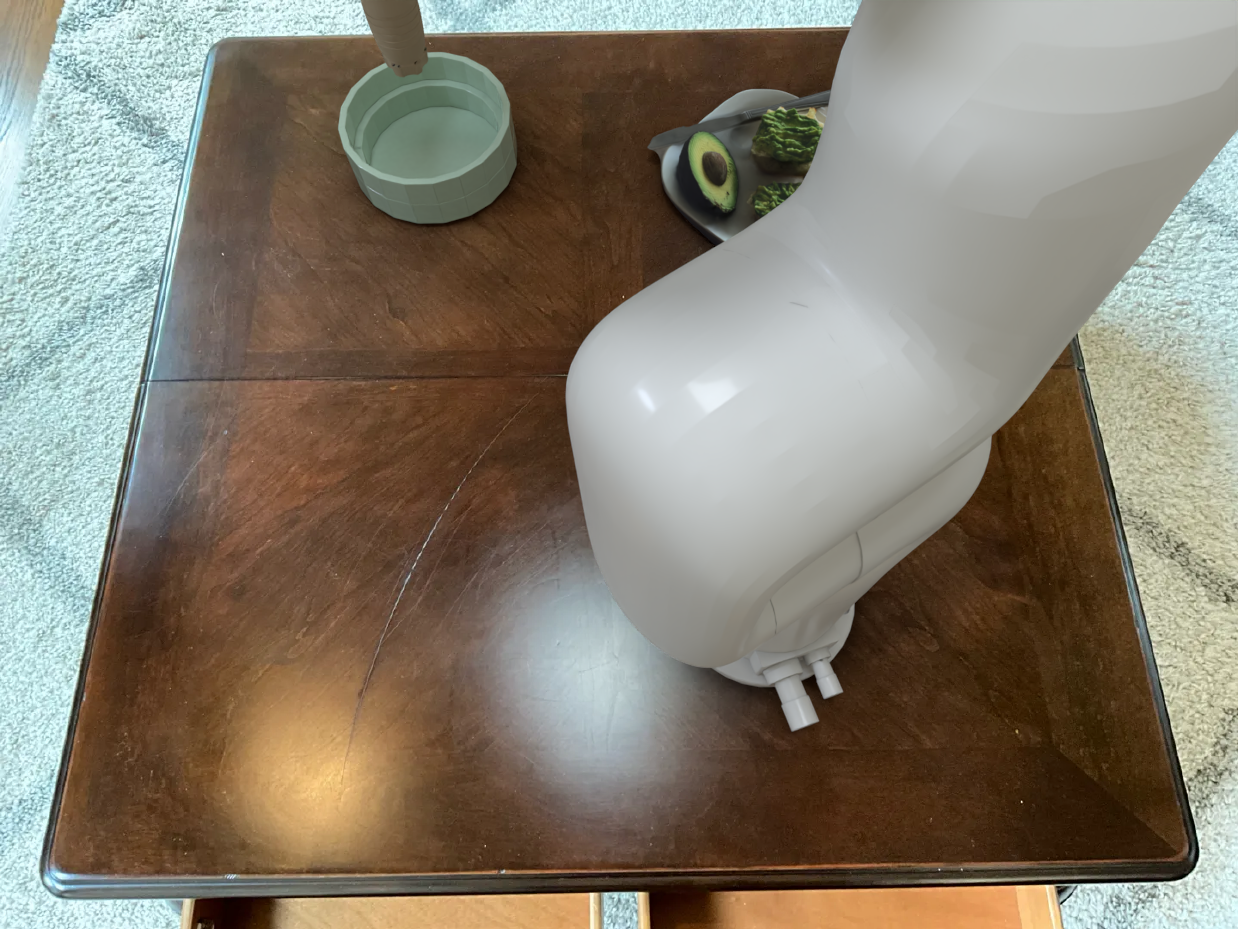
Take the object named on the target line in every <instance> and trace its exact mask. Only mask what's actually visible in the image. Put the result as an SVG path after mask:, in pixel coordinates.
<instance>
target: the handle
mask: <svg viewBox="0 0 1238 929" xmlns="http://www.w3.org/2000/svg"><path fill="white" fill-rule="evenodd" d="M360 4H361V6H362V10H363V13H364V16H365V19H366V21H367V24H368V27H369V29H370V32H371V34H372V36H373V39H374V41H375V43H376V45H377V47H378V49H379V51H380V53H381V56H382V59H383V61H384V63H386V65H387V66H388V67H389V68H392V69H393V71H394V73H395V75H397V76H399V77H405V76H408V75H419V74H420V73H421V72H422V71H423V70H422V68H423V66H424V65H425V64H427V62H428V53H427V52H428V48H427V46H426V36H425V28H424V22H423V16H422V12H421V7H420V3H419V0H360Z"/></svg>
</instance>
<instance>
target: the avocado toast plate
mask: <svg viewBox="0 0 1238 929" xmlns="http://www.w3.org/2000/svg"><path fill="white" fill-rule="evenodd" d="M830 94H831V89H827V90H824V91H819V92H817V93H813V94H809V95H806V96H801V97H798V96H796V95H794V94H791V93H788V92H786V91H783V90H778V89H770V88H751V89H746V90H742V91H740V92H737V93H736V94H734V95H733V96H731V97H730V98H727V99H726V100H725V101H723V102H722V103H720V104H719V105H718V106H717V107H716V108H714V109H713V111H711V112H709V114H707V115H706V116H705V117H704V118H703V119H701V120H700V121H699V122H698V123H694V124H692V125H690V126H685V125H682V126H679V127H675V128H672V129H670V130H667V131H664V132H662V133H659V134H657V135H655V136H653V137H652V138H651V140H650V143H649V144H648V145H647V147H646V149H648V150H651V151H653V152H655V153H656V154H657V155H658V158H659V160H660V179H661V185H662V187H663V190H664V192H665V194H666V195H667V196H666V197H668V199H669V200H670V202H671V203H672V204H673V205H674V207H675V209H677V211H678V212H679V213H680V214H681V215H682V216H683V217H684V218H685V219H686V220H687V221H688V222H689V223H690V224H691V226H693V227H694V228H695V229H696V230H697V231H698V232H700V234H702V235H703V237H705V238H706V239H708V240H709V241H710V242H711V243H712V244H713V245H714V246H715V247H716V246H718V245H719V244H721V243H723V242H724V241H726V240H728V239H729V238H731V237H733V236H735V235H736V234H738V233H740V232H741V231H743V230H744V229H746V228H747V227H749V226H750V225H752V224H753V223H755V222H756V221H758V220H759V219H761V218H762V217H764V216H765V215H766V214H768V213H769V212H771V211H772V210H773V209H775V208H776V207H777V206H779V205H780V204H781V203H783V202H784V201H785V200H786V199H788V198H789V197H790V196H791V195H792V194H793V193H794V192H795V191H796V190H797V189H798V187H799V186H800V185H801V184H802V182H803V180H804V178H805V176H806V174H807V172H808V171H809V169H810V166H811V164H812V161H813V159H814V156H815V153H816V149H817V146H818V143H819V140H820V136H821V133H822V130H823V127H824V124H825V120H826V116H827V111H828V105H829V100H830Z"/></svg>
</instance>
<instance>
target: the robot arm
mask: <svg viewBox="0 0 1238 929" xmlns="http://www.w3.org/2000/svg"><path fill="white" fill-rule="evenodd" d="M830 90H831V94H830V100H829V105H828V111H827V116H826V120H825V124H824V127H823V130H822V133H821V136H820V140H819V143H818V146H817V149H816V153H815V156H814V159H813V161H812V164H811V166H810V169H809V171H808V172H807V174H806V176H805V178H804V180H803V182H802V184H801V185H800V186H799V187H798V189H797V190H796V191H795V192H794V193H793V194H792V195H791V196H790V197H789V198H788V199H786V200H785V201H784V202H783V203H781V204H780V205H779V206H777V207H776V208H775V209H773V210H772V211H771V212H769V213H768V214H766V215H765V216H764V217H762V218H761V219H759V220H758V221H756V222H755V223H753V224H752V225H750V226H749V227H747V228H746V229H744V230H743V231H741V232H740V233H738V234H736V235H735V236H733V237H731V238H729V239H728V240H726V241H724V242H723V243H721V244H719V245H718V246H716V245H715V247H712V248H711V249H709V250H707V251H706V252H704V253H702V254H700V255H699V256H697V257H695V258H693V259H691V260H690V261H688V262H687V263H685V264H683V265H681V266H680V267H678V268H677V269H675V270H672V271H671V272H670V273H668V274H666V275H665V276H662V277H661V278H659V279H657V280H656V281H654V282H653V283H651V284H649V285H648V286H646V287H645V288H643V289H642V290H640V291H638V292H637V293H635V294H633V295H632V296H630V297H629V298H628V299H626V300H625V301H623V302H622V303H621V304H619V305H618V306H616V307H615V308H614V309H613V310H611V311H610V313H608V314H606V316H604V317H603V318H602V319H601V320H600V321H599V322H598V323H597V324H596V325H595V326H594V327H593V328H592V330H591V331H590V332H589V333H588V335H587V336H586V337H585V338H584V340H583V341H582V343H581V345H580V346H579V348H578V349H577V351H576V353H575V355H574V357H573V359H572V361H571V364H570V367H569V369H568V373H567V377H566V382H565V383H566V384H565V407H566V408H565V409H566V419H567V427H568V433H569V434H568V435H569V438H570V444H571V449H572V455H573V460H574V466H575V471H576V476H577V481H578V488H579V493H580V497H581V498H580V499H581V503H582V510H583V515H584V519H585V525H586V530H587V534H588V538H589V541H590V545H591V548H592V552H593V555H594V559H595V561H596V564H597V567H598V569H599V571H600V574H601V576H602V579H603V580H604V583H605V585H606V587H607V589H608V592H609V593H610V595H611V596H612V598H613V600H614V602H615V604H617V606H618V609H620V611H621V612H622V614H623V615H624V616H625V618H626V619H627V620H628V622H629V623H630V624H631V625H632V626H633V627H634V628H635V629H636V631H638V633H639V634H641V636H643V638H644V639H646V641H648V642H649V643H650V644H652V646H654V647H655V648H657V649H658V650H659V651H661V653H663V654H665V655H666V656H668V657H670V658H672V659H674V660H675V661H678V662H680V663H683V664H686V665H689V666H692V667H696V668H703V669H704V668H705V669H712V670H713V671H715V672H717V673H719V674H720V675H722V676H723V677H725V678H726V679H730V680H732V681H734V682H737V683H739V684H742V685H747V686H752V687H756V688H757V687H758V688H775V690H776V692H777V695H778V697H779V699H780V702H781V705H780V706H781V709H782V711H783V714H784V716H785V719H786V722H787V723H788V726H789V730H790V731H791V733H792V732H797V731H798V730H802V729H804V728H807V727H810V726H812V725H815V724H817V723H819V722H820V719H819V717H818V715H817V712H816V710H815V707H814V705H813V703H812V700H811V698H810V696H809V695H808V694H807V692H806V690H805V687H804V684H803V682H802V681H805V680H807V679H809V678H810V677H812V676H814V677H815V679H816V683H817V684H816V685H817V687H818V689H819V691H820V693H821V695H822V698H823V700H827V699H830V698H832V697H835V696H838V695H841V694H842V693H844V690H843V688H842V686H841V683H840V681H839V679H838V677H837V674H836V673H835V672H834V670H833V667H832V665H831V662H832V660H834V659H835V657H836V656H837V655H838V653H839V652H840V651H841V649H843V647H844V645H845V643H846V641H847V638H848V637H849V634H850V632H851V629H852V625H853V621H854V617H855V603H856V602H858V600H859V599H861V598H862V597H863V596H864V595H865V594H866V593H867V592H868V591H870V589H871V588H872V587H874V585H875V584H876V583H878V581H879V580H881V579H882V578H883V577H884V576H885V575H886V574H887V573H888V572H889V571H891V569H893V568H894V567H895V566H896V565H897V564H898V563H899V562H900V561H902V560H903V559H904V558H905V557H907V556H908V555H909V554H910V553H912V552H914V550H915V549H917V548H918V547H919V546H920V545H921V544H922V543H924V542H925V541H927V539H929V538H930V537H931V536H933V535H934V534H935V533H936V532H937V531H939V530H940V529H941V528H943V527H944V526H945V525H946V524H947V523H948V522H949V521H950V520H952V519H953V518H954V517H955V516H956V515H957V514H958V513H959V512H960V511H961V510H962V508H964V507H965V506H966V504H967V503H968V502H969V501H970V500H971V497H972V496H973V494H974V493H975V492H976V490H977V489H978V487H979V486H980V483H981V481H982V479H983V477H984V475H985V472H986V469H987V466H988V463H989V460H990V454H991V450H992V438H993V437H992V436H993V435H994V434H995V433H996V432H997V431H999V430H1000V429H1001V428H1002V427H1003V426H1005V424H1006V423H1007V422H1008V421H1009V420H1010V419H1011V418H1012V417H1013V416H1014V415H1015V414H1016V413H1017V412H1018V411H1019V409H1020V408H1021V407H1022V406H1023V405H1024V404H1025V402H1026V401H1027V400H1028V398H1029V397H1030V396H1031V395H1032V394H1033V393H1034V391H1035V390H1036V388H1037V387H1038V385H1039V384H1040V383H1041V381H1042V380H1043V379H1044V377H1045V376H1046V374H1048V372H1049V371H1050V369H1051V368H1052V366H1054V364H1055V363H1056V361H1057V360H1058V358H1059V357H1060V356H1061V354H1062V353H1063V352H1064V350H1065V349H1066V348H1067V346H1069V344H1070V342H1071V341H1072V340H1073V339H1074V338H1075V337H1076V335H1077V334H1078V333H1079V332H1080V330H1081V329H1083V327H1084V326H1085V324H1087V322H1088V321H1089V319H1090V318H1091V317H1092V316H1093V315H1094V313H1095V312H1097V310H1098V308H1099V307H1100V306H1101V305H1102V304H1103V302H1104V301H1105V300H1106V299H1107V298H1108V296H1109V295H1110V294H1111V293H1112V292H1113V290H1114V289H1115V288H1116V286H1117V285H1118V284H1120V282H1121V281H1122V280H1123V278H1124V277H1125V275H1126V274H1127V273H1128V272H1129V271H1130V269H1132V267H1133V266H1134V264H1135V263H1136V262H1137V261H1138V260H1139V258H1140V257H1141V256H1142V255H1143V254H1144V252H1145V251H1146V250H1147V249H1148V248H1149V246H1150V245H1151V244H1152V243H1153V241H1154V239H1155V238H1156V237H1157V235H1158V234H1159V233H1160V231H1161V230H1162V229H1163V227H1164V226H1165V225H1166V223H1167V221H1168V220H1169V219H1170V217H1171V216H1172V215H1173V213H1174V211H1175V210H1176V209H1177V207H1178V206H1179V205H1180V203H1181V202H1182V200H1183V199H1184V197H1185V196H1187V194H1188V193H1189V191H1190V190H1191V189H1192V188H1193V186H1194V185H1195V184H1196V183H1197V181H1198V180H1199V179H1200V178H1201V176H1202V175H1203V174H1204V172H1205V171H1206V170H1207V169H1208V168H1209V166H1210V165H1211V164H1212V163H1213V162H1214V160H1215V159H1216V158H1217V156H1218V155H1219V154H1220V152H1221V151H1222V150H1223V149H1224V148H1225V146H1227V144H1228V143H1229V141H1230V140H1231V139H1232V138H1233V136H1234V135H1235V134H1236V133H1237V131H1238V0H861V2H860V3H859V6H858V8H857V10H856V13H855V15H854V18H853V21H852V23H851V26H850V27H849V31H848V33H847V36H846V39H845V41H844V43H843V45H842V48H841V50H840V53H839V58H838V61H837V65H836V68H835V72H834V76H833V80H832V84H831V88H830Z"/></svg>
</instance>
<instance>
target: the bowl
mask: <svg viewBox="0 0 1238 929" xmlns="http://www.w3.org/2000/svg"><path fill="white" fill-rule="evenodd" d="M427 53H428V62H427V64H425V65H424V66H423V68H422V70H423V71H422V72H421V73H420V74H419V75H408V76H405V77H399V76H397V75H395V73H394V71H393V69H392V68H389V67H388V66H387V65H386V63H385V62H384V63H382V64H380V65H378V66H376V67H375V68H373V69H370V70H369V71H368V72H367V73H366V74H364V76H362V77H361V78H360V79H359V80H358V81H357V82H356V83H355V84H354V85H353V86H352V87H351V88H350V89H349V91H348V93H347V95H346V97H345V99H344V101H343V102H342V104H341V106H340V112H339V120H338V125H337V130H338V131H337V132H338V134H339V138H340V142H341V145H342V148H343V150H344V153H345V155H346V158H347V160H348V162H349V165H350V167H351V169H352V172H353V174H354V176H355V178H356V181H357V183H358V186H359V188H360V190H361V191H362V193H363V194H364V195H365V196H366V197H367V199H368V200H369V201H370V202H371V204H372V205H373V206H374V207H375V208H377V209H378V210H380V211H382V212H384V213H386V214H387V215H389V216H391V217H392V218H394V219H399V220H401V221H406V222H409V223H414V224H423V225H424V224H446V223H449V222H453V221H456V220H461V219H464V218H467V217H470V216H473V215H474V214H476V213H477V212H480V211H481V210H483V209H484V208H485V207H488V206H489V205H491V204H492V203H493V202H494V201H495V200H496V199H497V198H498V197H499V196H500V194H502V192H503V191H504V190H505V189H507V187H508V185H509V183H510V181H511V179H512V177H513V174H514V172H515V169H516V168H517V163H518V162H517V161H518V142H517V137H516V131H515V125H514V119H513V114H512V108H511V107H512V106H511V102H510V100H509V98H508V94H507V92H506V88H505V87H504V84H503V83H502V82H501V81H500V80H499V79H498V78H497V77H496V75H495V74H493V73H492V71H491V70H490V69H489V68H488V67H487V66H485V65H482V64H481V63H479V62H477V61H475V60H473V59H471V58H470V57H467V56H463V55H459V54H455V53H449V52H445V51H430V52H429V51H427Z"/></svg>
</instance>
